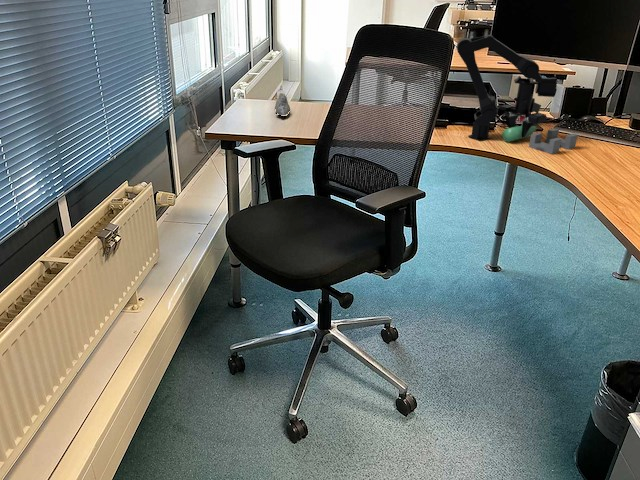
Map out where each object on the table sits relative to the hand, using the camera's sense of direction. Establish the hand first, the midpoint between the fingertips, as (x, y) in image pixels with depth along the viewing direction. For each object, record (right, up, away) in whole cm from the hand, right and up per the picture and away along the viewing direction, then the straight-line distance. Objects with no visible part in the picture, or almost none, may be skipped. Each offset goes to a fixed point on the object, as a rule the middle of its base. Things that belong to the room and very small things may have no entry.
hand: (517, 135), depth 208 cm
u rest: (+11, -6, -7) cm, 14 cm away
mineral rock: (-95, +15, +31) cm, 101 cm away
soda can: (+9, +9, +21) cm, 24 cm away
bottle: (+1, -1, +1) cm, 2 cm away
